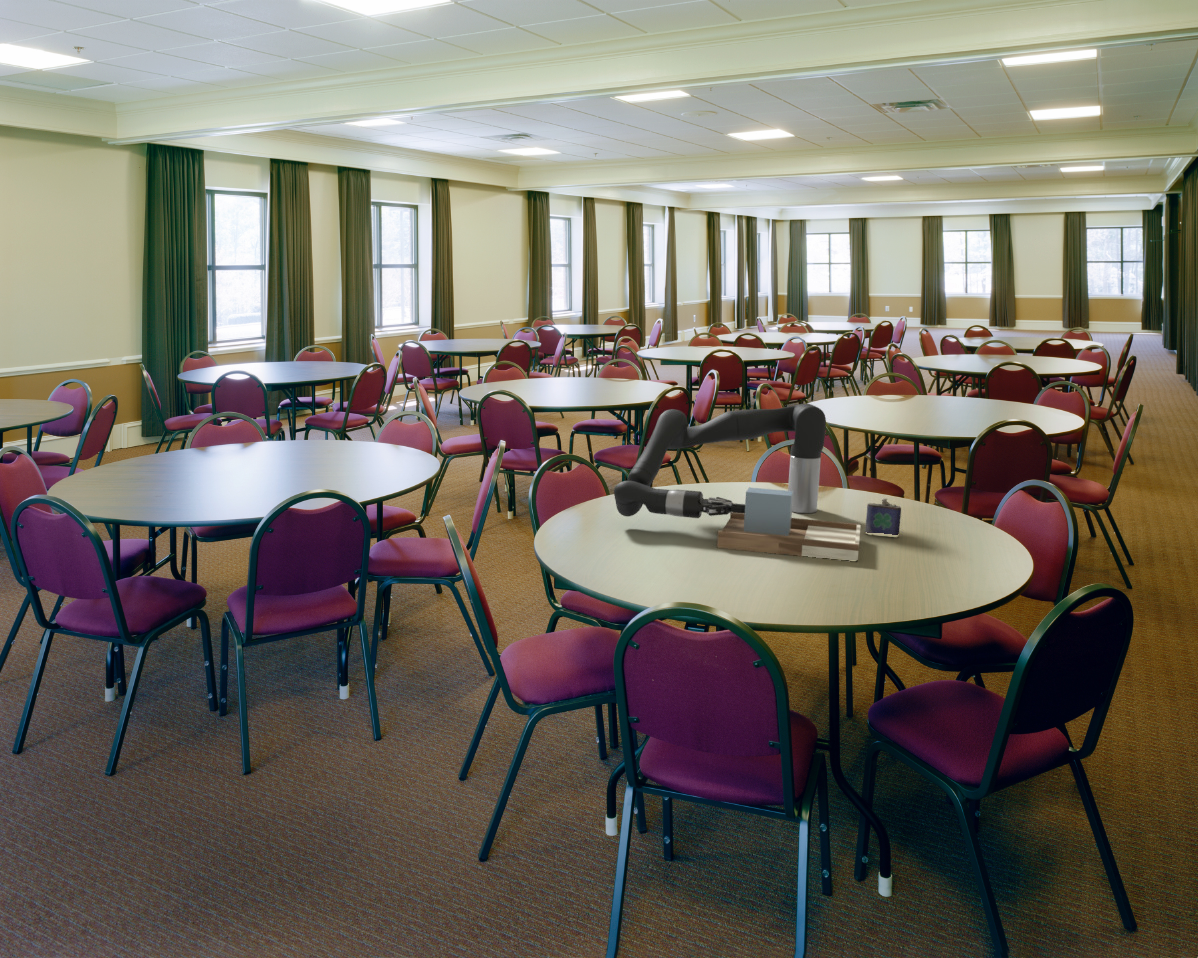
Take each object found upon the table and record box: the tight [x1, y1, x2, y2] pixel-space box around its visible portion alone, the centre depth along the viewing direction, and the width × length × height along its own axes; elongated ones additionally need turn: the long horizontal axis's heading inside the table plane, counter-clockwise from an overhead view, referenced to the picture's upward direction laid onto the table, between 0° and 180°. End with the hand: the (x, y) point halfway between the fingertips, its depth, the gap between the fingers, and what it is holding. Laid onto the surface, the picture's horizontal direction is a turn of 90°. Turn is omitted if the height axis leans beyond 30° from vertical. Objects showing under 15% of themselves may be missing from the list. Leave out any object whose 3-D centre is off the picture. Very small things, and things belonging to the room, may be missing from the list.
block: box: [744, 487, 793, 536], centre depth 242 cm, size 6×12×11 cm, turn 73°
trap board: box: [716, 512, 861, 560], centre depth 241 cm, size 22×36×4 cm, turn 73°
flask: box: [864, 498, 902, 535], centre depth 251 cm, size 9×3×11 cm, turn 65°
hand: (746, 508), depth 243 cm, fingers closed
